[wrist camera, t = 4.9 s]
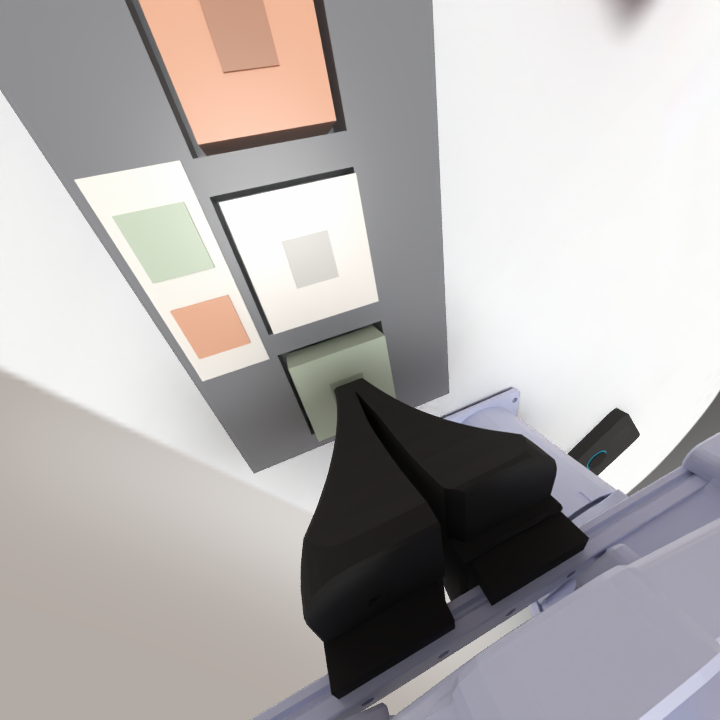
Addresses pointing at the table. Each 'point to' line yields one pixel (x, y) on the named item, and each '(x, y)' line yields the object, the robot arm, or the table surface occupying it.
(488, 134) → the table surface
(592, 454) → the smart home device
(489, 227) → the table surface
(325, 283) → the white key
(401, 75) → the keypad
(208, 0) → the terracotta key
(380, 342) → the sage key
